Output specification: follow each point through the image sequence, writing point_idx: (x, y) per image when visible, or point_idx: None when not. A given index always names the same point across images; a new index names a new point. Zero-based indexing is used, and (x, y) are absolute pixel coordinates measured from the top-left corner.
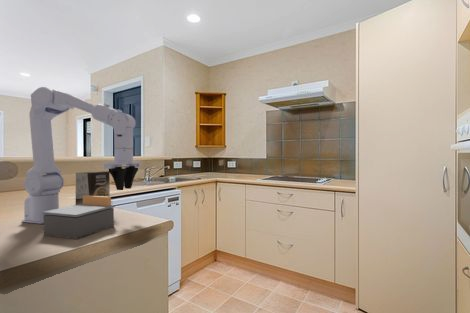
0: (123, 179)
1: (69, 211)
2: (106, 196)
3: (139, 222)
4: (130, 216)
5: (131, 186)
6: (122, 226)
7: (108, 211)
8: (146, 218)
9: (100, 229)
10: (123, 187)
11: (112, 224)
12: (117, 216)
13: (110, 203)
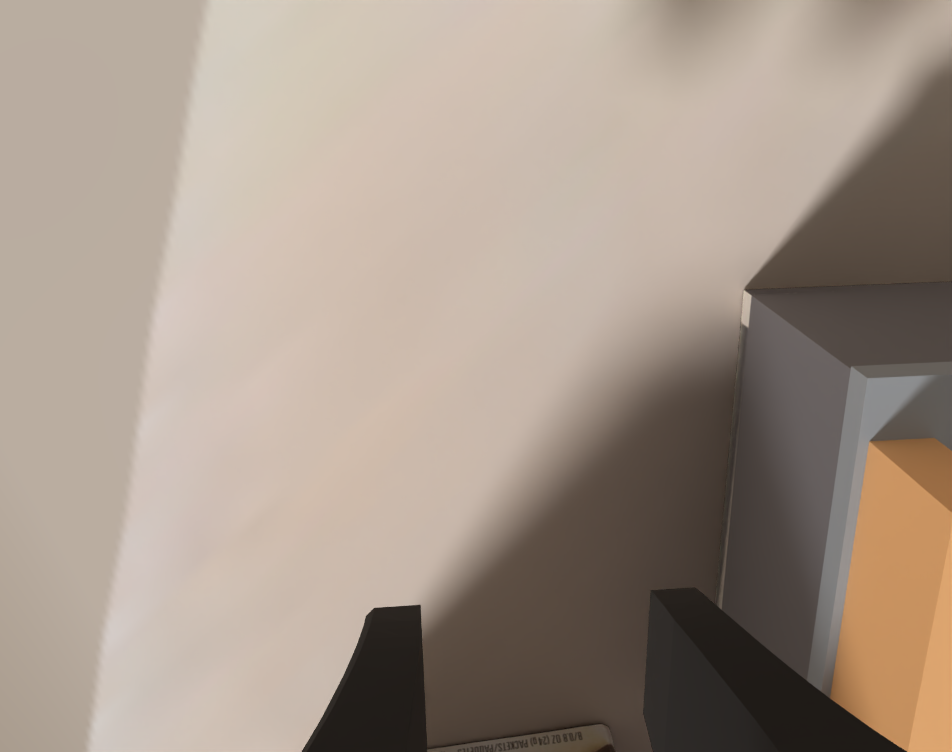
0: (807, 744)
1: None
2: (941, 607)
3: (512, 76)
4: (290, 444)
5: (375, 625)
6: (733, 167)
7: (934, 356)
8: (294, 131)
9: (946, 285)
10: (677, 610)
11: (774, 294)
12: (354, 599)
13: (895, 453)
